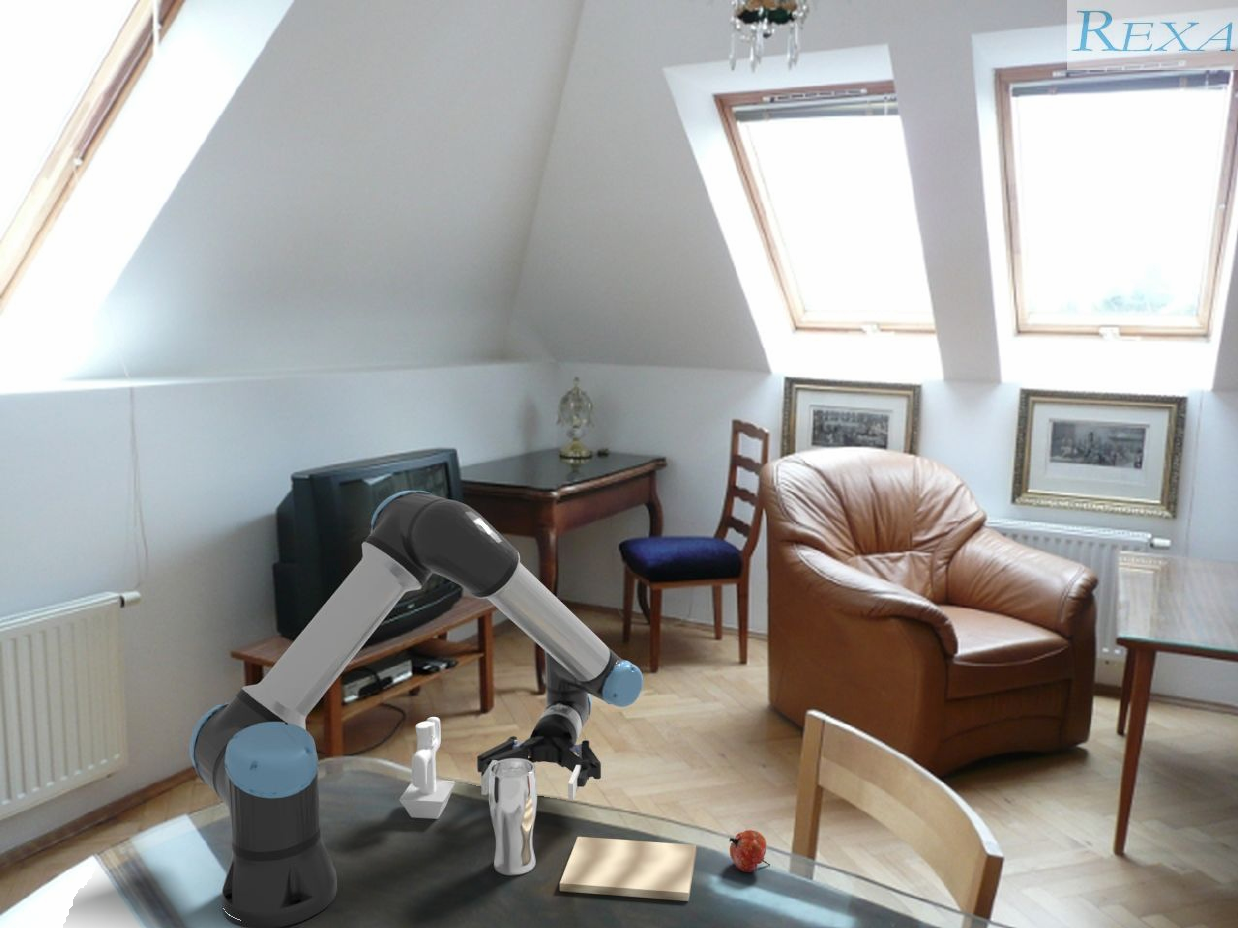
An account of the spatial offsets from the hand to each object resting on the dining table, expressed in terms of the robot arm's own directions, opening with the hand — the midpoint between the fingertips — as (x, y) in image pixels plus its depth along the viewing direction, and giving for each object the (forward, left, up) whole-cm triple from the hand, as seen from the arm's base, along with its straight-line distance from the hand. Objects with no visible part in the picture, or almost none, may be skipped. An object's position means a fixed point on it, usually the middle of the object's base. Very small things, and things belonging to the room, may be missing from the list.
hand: (526, 789), depth 159 cm
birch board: (+17, -8, -8) cm, 20 cm away
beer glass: (0, -8, -8) cm, 11 cm away
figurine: (-18, +6, -8) cm, 21 cm away
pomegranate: (+34, -4, -8) cm, 35 cm away
